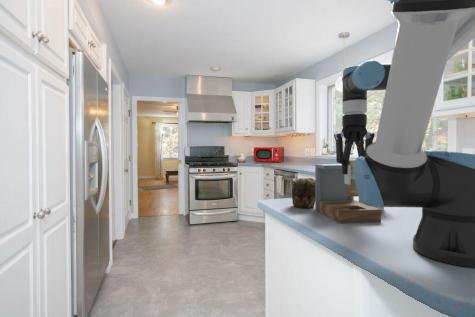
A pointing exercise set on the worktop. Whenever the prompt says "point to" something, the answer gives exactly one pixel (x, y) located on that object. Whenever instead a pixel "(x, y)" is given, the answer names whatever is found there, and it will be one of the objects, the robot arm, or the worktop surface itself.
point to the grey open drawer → (329, 184)
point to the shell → (303, 193)
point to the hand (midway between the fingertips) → (353, 183)
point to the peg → (352, 182)
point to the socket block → (349, 211)
